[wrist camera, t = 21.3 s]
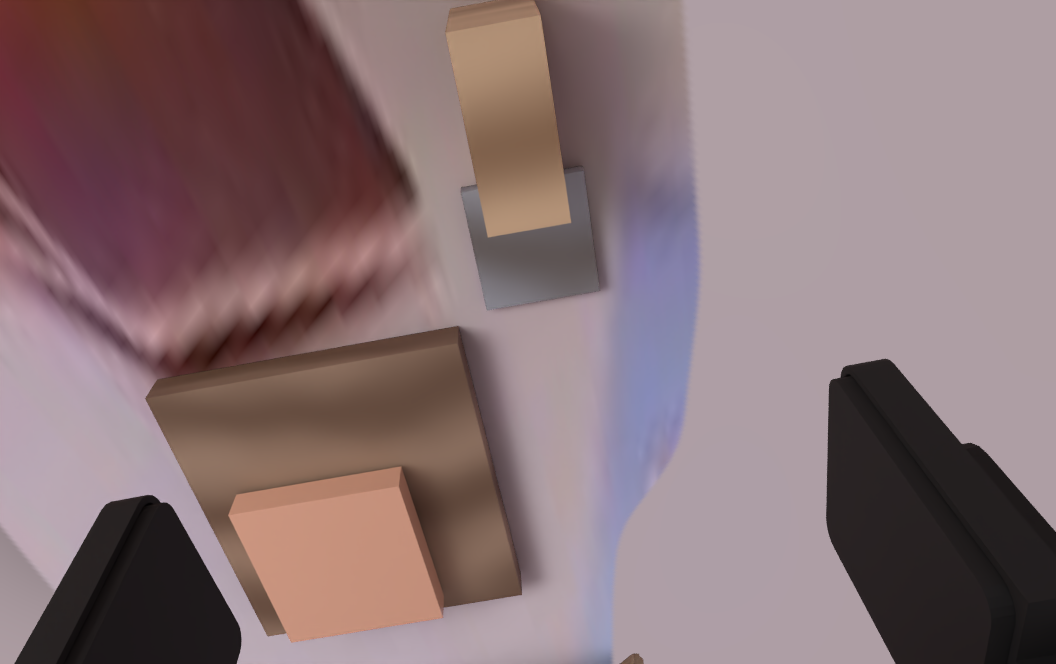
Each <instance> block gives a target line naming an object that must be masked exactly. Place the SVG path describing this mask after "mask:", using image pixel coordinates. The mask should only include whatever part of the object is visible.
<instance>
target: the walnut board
mask: <svg viewBox="0 0 1056 664" xmlns="http://www.w3.org/2000/svg"><path fill="white" fill-rule="evenodd" d="M145 399H146V401H147V403H148V405H149V407H150V409H151V411H152V413H153V415H154V417H155V419H156V420H157V422H158V424H159V426H160V428H161V430H162V432H163V434H164V436H165V438H166V440H167V442H168V444H169V446H170V448H171V450H172V452H173V453H174V455H175V457H176V459H177V461H178V463H179V465H180V467H181V469H182V471H183V473H184V475H185V477H186V479H187V481H188V483H189V485H190V486H191V488H192V490H193V492H194V494H195V496H196V498H197V500H198V502H199V504H200V506H201V508H202V510H203V512H204V514H205V516H206V518H207V519H208V521H209V523H210V525H211V527H212V529H213V531H214V533H215V535H216V537H217V539H218V541H219V543H220V545H221V547H222V549H223V551H224V553H225V554H226V556H227V558H228V560H229V562H230V564H231V566H232V568H233V570H234V572H235V574H236V576H237V578H238V580H239V582H240V584H241V586H242V587H243V589H244V591H245V593H246V595H247V597H248V599H249V601H250V603H251V605H252V607H253V609H254V611H255V613H256V615H257V617H258V619H259V620H260V622H261V624H262V626H263V628H264V630H265V632H266V634H267V636H273V635H279V634H285V633H286V631H285V629H284V627H283V625H282V623H281V621H280V619H279V617H278V615H277V613H276V611H275V609H274V607H273V605H272V603H271V601H270V599H269V597H268V595H267V593H266V591H265V589H264V587H263V585H262V583H261V581H260V579H259V576H258V574H257V572H256V570H255V568H254V566H253V564H252V562H251V560H250V558H249V556H248V554H247V552H246V550H245V548H244V546H243V544H242V542H241V540H240V538H239V536H238V534H237V532H236V530H235V528H234V526H233V524H232V522H231V520H230V518H229V516H228V515H229V512H230V510H231V507H232V504H233V502H234V499H235V497H236V495H237V494H243V493H249V492H254V491H260V490H266V489H272V488H278V487H284V486H289V485H295V484H301V483H307V482H313V481H319V480H324V479H330V478H336V477H342V476H348V475H354V474H359V473H365V472H371V471H377V470H383V469H388V468H394V467H400V466H401V467H402V470H403V473H404V476H405V479H406V482H407V485H408V489H409V492H410V495H411V498H412V501H413V504H414V507H415V510H416V513H417V516H418V519H419V522H420V525H421V528H422V531H423V534H424V537H425V540H426V543H427V546H428V549H429V552H430V555H431V558H432V561H433V564H434V567H435V570H436V573H437V576H438V579H439V582H440V585H441V588H442V592H443V595H444V607H450V606H456V605H462V604H468V603H474V602H480V601H487V600H493V599H499V598H505V597H511V596H517V595H522V587H521V573H520V569H519V565H518V561H517V557H516V553H515V549H514V545H513V541H512V537H511V533H510V529H509V525H508V521H507V517H506V513H505V509H504V505H503V501H502V497H501V493H500V489H499V486H498V482H497V478H496V474H495V470H494V466H493V462H492V458H491V454H490V450H489V446H488V442H487V438H486V434H485V430H484V426H483V422H482V418H481V414H480V410H479V406H478V402H477V398H476V394H475V391H474V387H473V383H472V379H471V375H470V371H469V367H468V363H467V359H466V355H465V351H464V347H463V343H462V339H461V335H460V331H459V327H458V326H456V327H451V328H445V329H439V330H434V331H428V332H423V333H417V334H411V335H406V336H400V337H394V338H389V339H383V340H378V341H372V342H366V343H361V344H355V345H350V346H344V347H338V348H333V349H327V350H321V351H316V352H310V353H305V354H299V355H293V356H288V357H282V358H277V359H271V360H265V361H260V362H254V363H249V364H243V365H237V366H232V367H226V368H220V369H215V370H209V371H204V372H198V373H192V374H187V375H181V376H176V377H170V378H164V379H159V380H157V381H156V383H155V384H154V386H153V387H152V389H151V390H150V392H149V394H148V395H147V397H146V398H145Z"/></svg>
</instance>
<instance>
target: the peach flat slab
mask: <svg viewBox="0 0 1056 664" xmlns="http://www.w3.org/2000/svg"><path fill="white" fill-rule="evenodd" d="M228 516H229V518H230V520H231V522H232V524H233V526H234V528H235V530H236V532H237V534H238V536H239V538H240V540H241V542H242V544H243V546H244V548H245V550H246V552H247V554H248V556H249V558H250V560H251V562H252V564H253V566H254V568H255V570H256V572H257V574H258V576H259V579H260V581H261V583H262V585H263V587H264V589H265V591H266V593H267V595H268V597H269V599H270V601H271V603H272V605H273V607H274V609H275V611H276V613H277V615H278V617H279V619H280V621H281V623H282V625H283V627H284V629H285V631H286V633H287V635H288V637H289V639H290V641H291V643H292V642H298V641H304V640H310V639H316V638H323V637H329V636H335V635H341V634H347V633H353V632H359V631H365V630H372V629H378V628H384V627H390V626H396V625H402V624H408V623H414V622H421V621H427V620H433V619H439V618H443V608H444V595H443V592H442V588H441V585H440V582H439V579H438V576H437V573H436V570H435V567H434V564H433V561H432V558H431V555H430V552H429V549H428V546H427V543H426V540H425V537H424V534H423V531H422V528H421V525H420V522H419V519H418V516H417V513H416V510H415V507H414V504H413V501H412V498H411V495H410V492H409V489H408V485H407V482H406V479H405V476H404V473H403V470H402V467H401V466H400V467H394V468H388V469H383V470H377V471H371V472H365V473H359V474H354V475H348V476H342V477H336V478H330V479H324V480H319V481H313V482H307V483H301V484H295V485H289V486H284V487H278V488H272V489H266V490H260V491H254V492H249V493H243V494H237V495H236V497H235V499H234V502H233V504H232V507H231V510H230V512H229V515H228Z"/></svg>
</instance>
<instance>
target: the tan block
mask: <svg viewBox="0 0 1056 664" xmlns="http://www.w3.org/2000/svg"><path fill="white" fill-rule="evenodd" d="M445 33H446V38H447V43H448V48H449V52H450V57H451V62H452V67H453V72H454V76H455V81H456V86H457V91H458V96H459V101H460V105H461V110H462V115H463V120H464V125H465V130H466V134H467V139H468V144H469V149H470V154H471V158H472V163H473V168H474V173H475V178H476V183H477V185H472V186H467V187H461V195H462V200H463V204H464V209H465V213H466V218H467V222H468V227H469V231H470V236H471V241H472V245H473V250H474V254H475V259H476V263H477V268H478V272H479V277H480V282H481V286H482V291H483V295H484V300H485V304H486V309H487V310H492V309H498V308H504V307H510V306H515V305H521V304H527V303H533V302H538V301H544V300H550V299H556V298H562V297H567V296H573V295H579V294H585V293H591V292H596V291H600V288H599V281H598V273H597V266H596V258H595V251H594V243H593V236H592V228H591V221H590V213H589V206H588V199H587V191H586V184H585V176H584V170H583V167H582V166H579V167H574V168H568V169H563V163H562V157H561V150H560V143H559V136H558V130H557V123H556V116H555V109H554V102H553V96H552V89H551V82H550V75H549V69H548V62H547V55H546V48H545V41H544V35H543V28H542V21H541V15H540V13H539V10H538V8H537V6H536V4H535V1H534V0H495V1H489V2H484V3H478V4H473V5H468V6H462V7H457V8H452V9H450V12H449V17H448V22H447V27H446V32H445Z"/></svg>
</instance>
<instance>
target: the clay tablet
mask: <svg viewBox="0 0 1056 664" xmlns="http://www.w3.org/2000/svg"><path fill="white" fill-rule="evenodd" d="M620 664H644V662H643V658H642V657H640V656H639V654H637V653H636V654H632V655H630V656H629V657H628V658H627V659H625V660H624V661H623V662H622V663H620Z"/></svg>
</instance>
